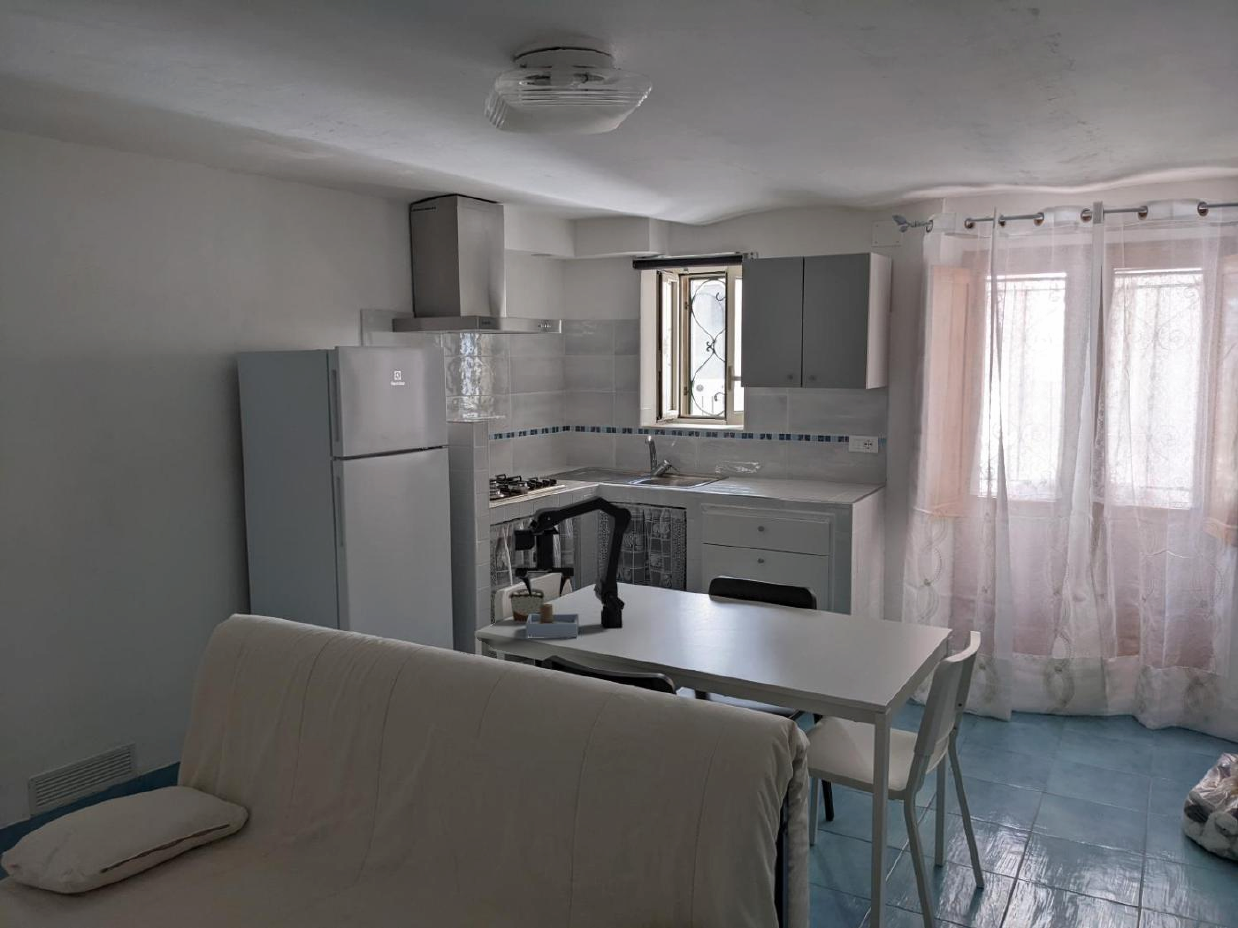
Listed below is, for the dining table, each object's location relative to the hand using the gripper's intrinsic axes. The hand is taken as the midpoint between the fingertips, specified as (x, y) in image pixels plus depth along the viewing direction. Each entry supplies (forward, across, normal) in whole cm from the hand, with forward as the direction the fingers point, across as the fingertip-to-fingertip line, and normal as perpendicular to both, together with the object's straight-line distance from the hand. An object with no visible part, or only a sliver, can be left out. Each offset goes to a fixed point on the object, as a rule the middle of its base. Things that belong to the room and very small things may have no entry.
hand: (545, 596), depth 303 cm
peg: (+12, 0, 0) cm, 12 cm away
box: (+12, -2, 0) cm, 12 cm away
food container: (+12, +7, -14) cm, 20 cm away
